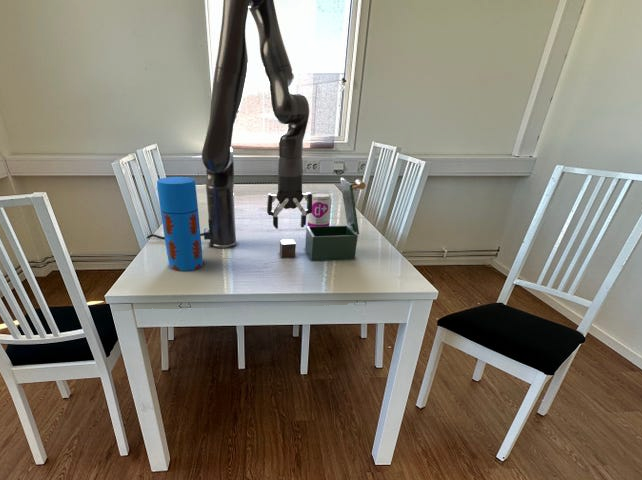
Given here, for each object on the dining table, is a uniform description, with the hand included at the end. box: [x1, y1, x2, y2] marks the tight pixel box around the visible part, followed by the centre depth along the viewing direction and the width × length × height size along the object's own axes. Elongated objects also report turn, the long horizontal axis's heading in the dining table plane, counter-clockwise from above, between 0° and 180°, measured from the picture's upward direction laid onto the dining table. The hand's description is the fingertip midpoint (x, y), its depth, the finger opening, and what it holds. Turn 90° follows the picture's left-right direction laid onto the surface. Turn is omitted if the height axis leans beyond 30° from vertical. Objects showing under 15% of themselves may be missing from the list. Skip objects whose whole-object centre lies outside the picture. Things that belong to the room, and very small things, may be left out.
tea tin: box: [304, 224, 359, 262], centre depth 133 cm, size 15×12×8 cm
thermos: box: [156, 176, 204, 272], centre depth 119 cm, size 11×11×25 cm
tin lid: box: [339, 177, 366, 236], centre depth 126 cm, size 15×12×6 cm
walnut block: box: [279, 239, 297, 259], centre depth 132 cm, size 5×5×5 cm
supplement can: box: [306, 192, 333, 228], centre depth 146 cm, size 8×8×15 cm
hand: (289, 227), depth 128 cm, fingers open, 8 cm apart
